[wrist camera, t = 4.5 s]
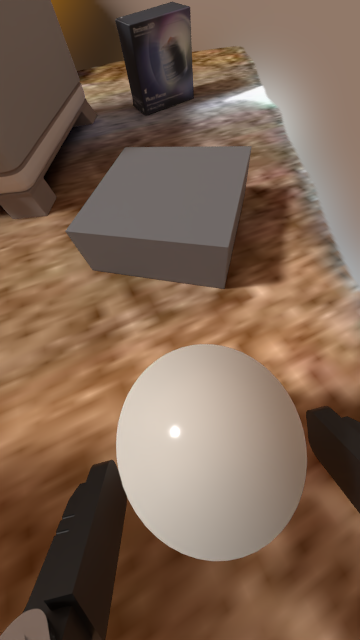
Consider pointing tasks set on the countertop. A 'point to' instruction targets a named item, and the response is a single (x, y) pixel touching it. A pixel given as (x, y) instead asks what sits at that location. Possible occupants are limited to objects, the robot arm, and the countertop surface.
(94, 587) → the robot arm
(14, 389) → the countertop surface
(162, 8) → the small box
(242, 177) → the plinth
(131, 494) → the beige piece
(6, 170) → the toaster
